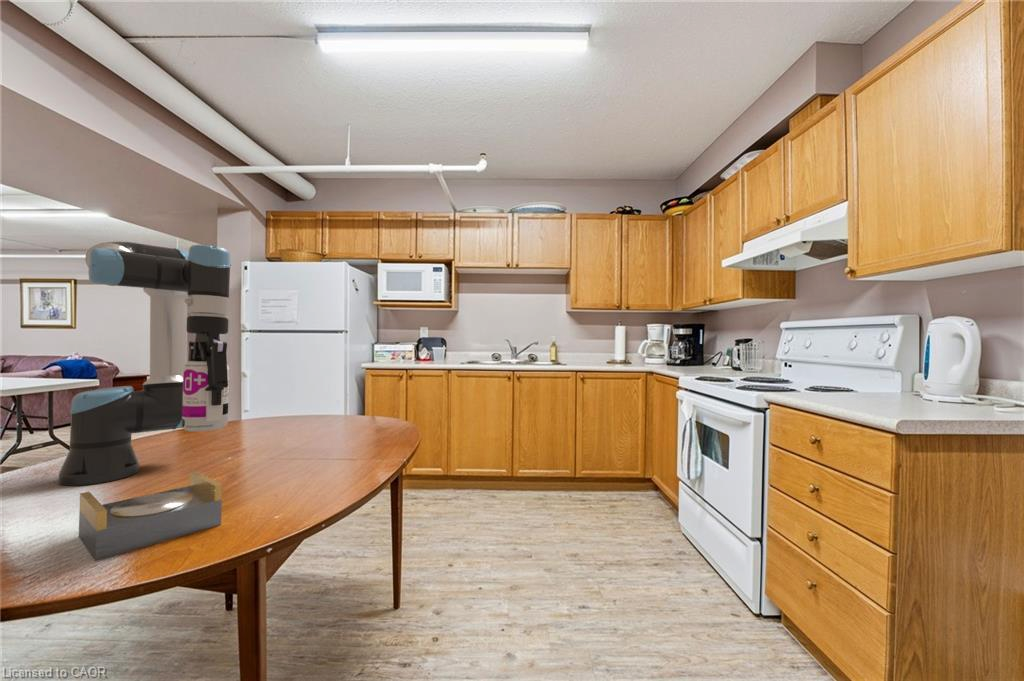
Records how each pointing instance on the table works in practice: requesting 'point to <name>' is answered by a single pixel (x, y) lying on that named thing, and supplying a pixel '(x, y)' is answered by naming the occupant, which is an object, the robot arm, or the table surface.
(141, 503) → the grey boxy piece
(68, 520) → the table surface
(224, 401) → the supplement can
